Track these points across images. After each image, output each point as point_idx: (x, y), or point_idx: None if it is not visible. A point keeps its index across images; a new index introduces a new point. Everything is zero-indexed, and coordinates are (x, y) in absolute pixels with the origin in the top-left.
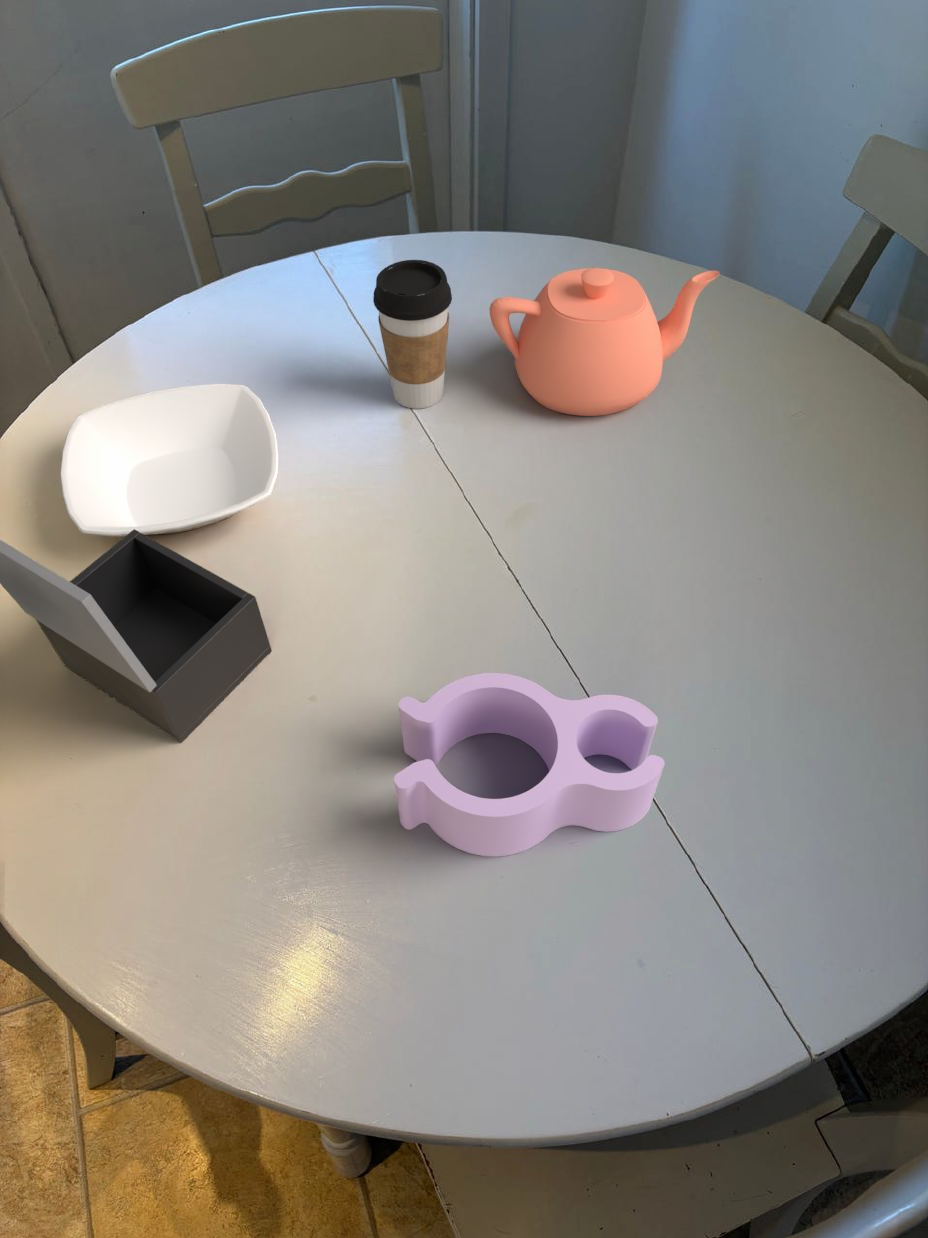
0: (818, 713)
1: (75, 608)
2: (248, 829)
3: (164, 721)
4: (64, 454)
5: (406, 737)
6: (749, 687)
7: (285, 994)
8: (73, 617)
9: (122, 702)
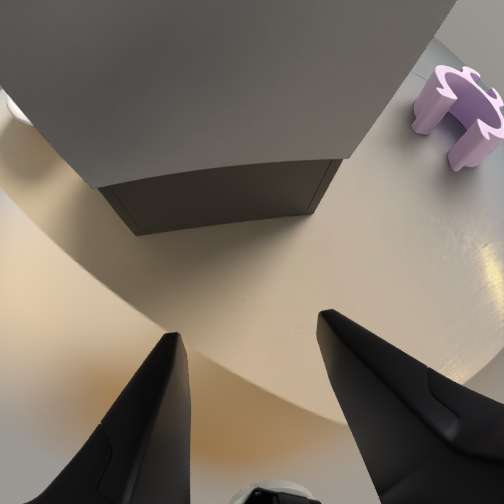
0: (456, 67)
1: (399, 6)
2: (416, 232)
3: (309, 199)
4: (12, 110)
5: (429, 118)
6: (440, 62)
7: (497, 290)
8: (324, 51)
9: (229, 220)
